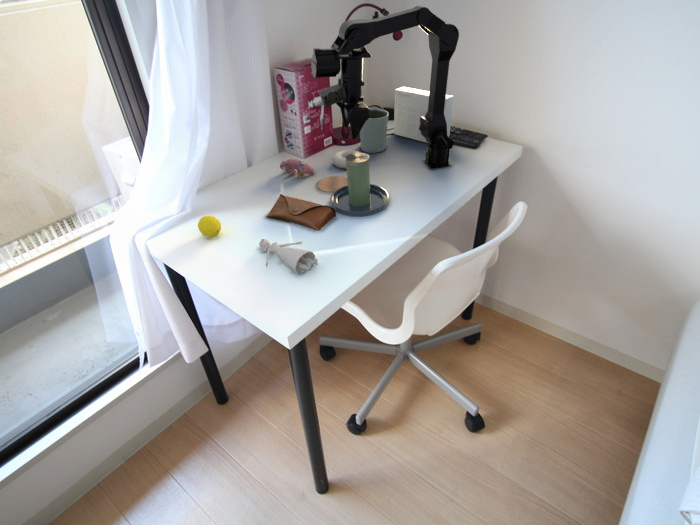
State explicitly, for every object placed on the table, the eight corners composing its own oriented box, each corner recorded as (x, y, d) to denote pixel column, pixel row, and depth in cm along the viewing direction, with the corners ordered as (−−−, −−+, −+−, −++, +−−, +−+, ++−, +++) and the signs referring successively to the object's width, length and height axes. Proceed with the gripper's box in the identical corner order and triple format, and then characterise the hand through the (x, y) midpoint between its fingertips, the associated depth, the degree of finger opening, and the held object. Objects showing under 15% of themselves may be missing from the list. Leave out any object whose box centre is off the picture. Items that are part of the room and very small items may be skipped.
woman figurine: (292, 270, 90) (240, 246, 100) (296, 287, 92) (244, 262, 103) (330, 244, 97) (277, 224, 107) (332, 261, 99) (280, 239, 110)
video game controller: (283, 178, 138) (275, 164, 132) (288, 167, 140) (281, 152, 134) (311, 182, 135) (304, 168, 129) (316, 170, 137) (309, 156, 130)
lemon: (196, 235, 112) (190, 217, 108) (214, 226, 115) (208, 208, 111) (211, 244, 108) (205, 226, 104) (229, 235, 111) (224, 217, 107)
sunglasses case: (263, 216, 116) (267, 192, 115) (278, 217, 122) (282, 193, 121) (320, 231, 109) (325, 205, 107) (333, 231, 115) (338, 206, 114)
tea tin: (368, 194, 122) (366, 151, 115) (373, 205, 118) (372, 160, 110) (346, 197, 122) (343, 154, 114) (351, 208, 117) (348, 163, 109)
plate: (380, 186, 127) (380, 179, 126) (395, 212, 115) (395, 206, 113) (327, 193, 125) (326, 187, 124) (336, 222, 113) (335, 215, 111)
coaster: (347, 176, 134) (346, 174, 133) (353, 190, 126) (353, 188, 125) (315, 180, 132) (314, 178, 132) (319, 195, 125) (319, 193, 124)
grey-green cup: (357, 143, 154) (356, 109, 146) (385, 140, 154) (385, 107, 147) (361, 155, 145) (360, 119, 138) (391, 152, 146) (391, 116, 139)
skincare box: (450, 142, 150) (454, 95, 140) (441, 147, 147) (445, 99, 137) (402, 129, 162) (403, 85, 152) (393, 134, 159) (393, 89, 149)
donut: (362, 170, 136) (365, 157, 144) (362, 160, 134) (364, 147, 142) (331, 171, 137) (335, 157, 145) (330, 161, 135) (334, 147, 143)
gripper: (315, 67, 119) (316, 123, 129) (328, 87, 105) (329, 148, 115) (354, 65, 121) (352, 120, 131) (372, 85, 107) (369, 145, 117)
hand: (349, 133), depth 123 cm, fingers open, 9 cm apart
